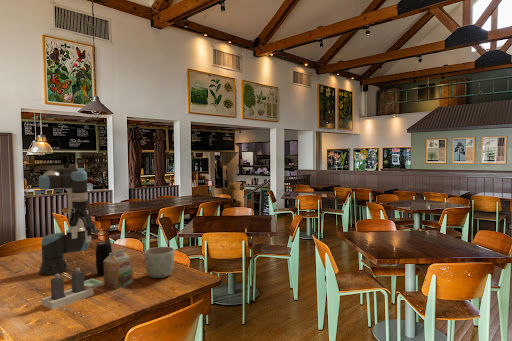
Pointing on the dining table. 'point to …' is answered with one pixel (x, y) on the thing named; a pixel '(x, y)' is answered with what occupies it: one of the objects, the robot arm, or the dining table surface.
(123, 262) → the milk carton
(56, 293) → the twin plug
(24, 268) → the dining table surface
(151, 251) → the planter
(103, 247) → the portable speaker
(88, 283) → the tray
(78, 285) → the plug
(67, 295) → the beige flat rimmed piece
